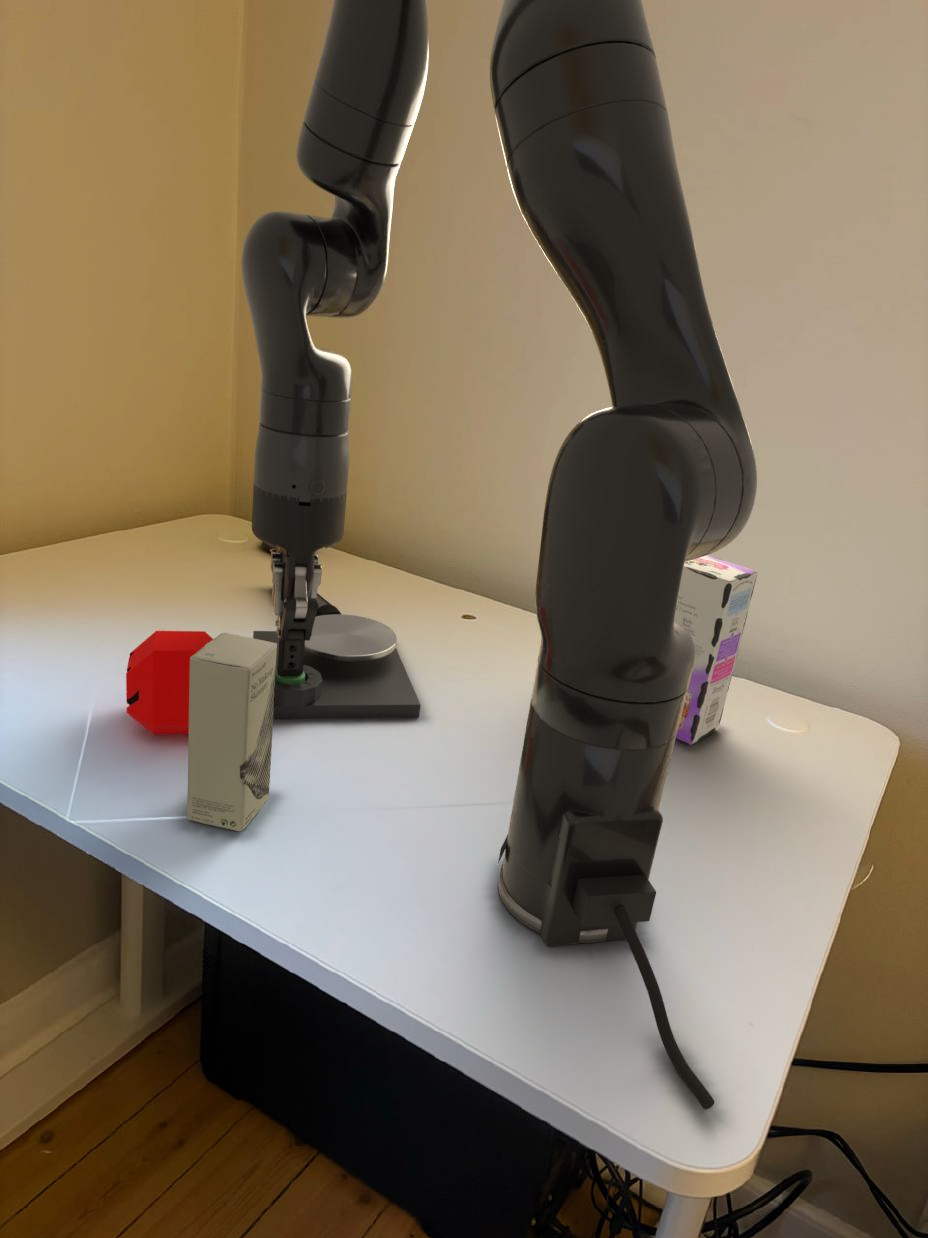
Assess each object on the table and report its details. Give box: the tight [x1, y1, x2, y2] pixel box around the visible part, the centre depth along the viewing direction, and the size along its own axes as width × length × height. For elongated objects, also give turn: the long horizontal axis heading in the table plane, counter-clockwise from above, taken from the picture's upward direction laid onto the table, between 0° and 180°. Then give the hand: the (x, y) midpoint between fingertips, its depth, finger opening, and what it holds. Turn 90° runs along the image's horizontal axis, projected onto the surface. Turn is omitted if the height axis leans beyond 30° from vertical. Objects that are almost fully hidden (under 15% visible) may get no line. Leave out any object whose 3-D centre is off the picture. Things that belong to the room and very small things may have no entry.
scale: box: [252, 630, 421, 720], centre depth 88 cm, size 16×14×3 cm
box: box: [186, 632, 277, 832], centre depth 65 cm, size 5×4×13 cm
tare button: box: [275, 671, 305, 685], centre depth 81 cm, size 3×3×2 cm
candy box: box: [674, 555, 759, 746], centre depth 87 cm, size 14×6×16 cm, turn 47°
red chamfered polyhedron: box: [125, 630, 214, 736], centre depth 76 cm, size 8×8×8 cm
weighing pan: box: [304, 613, 398, 662], centre depth 90 cm, size 10×10×1 cm
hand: (289, 672), depth 81 cm, fingers closed
